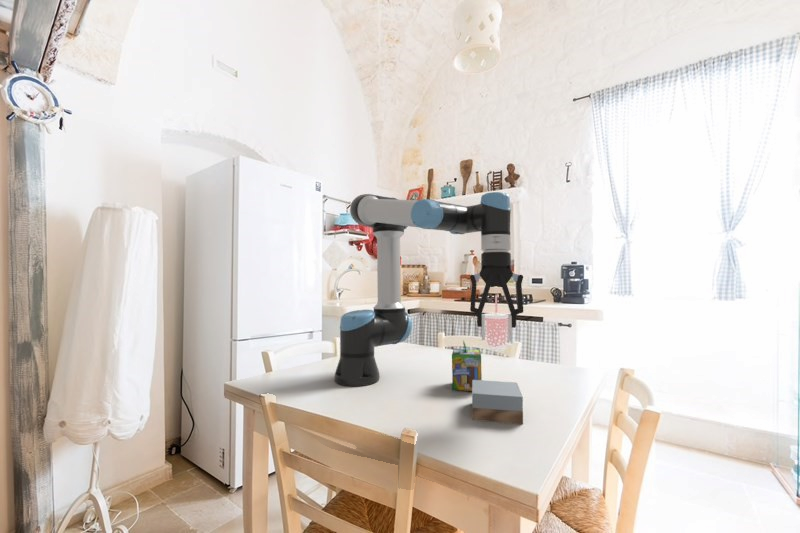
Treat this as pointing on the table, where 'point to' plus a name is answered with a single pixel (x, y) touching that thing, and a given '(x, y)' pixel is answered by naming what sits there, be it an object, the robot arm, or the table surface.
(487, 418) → the walnut base slab
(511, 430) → the table surface
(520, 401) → the slate top slab
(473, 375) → the chalk box
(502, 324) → the beverage cup
